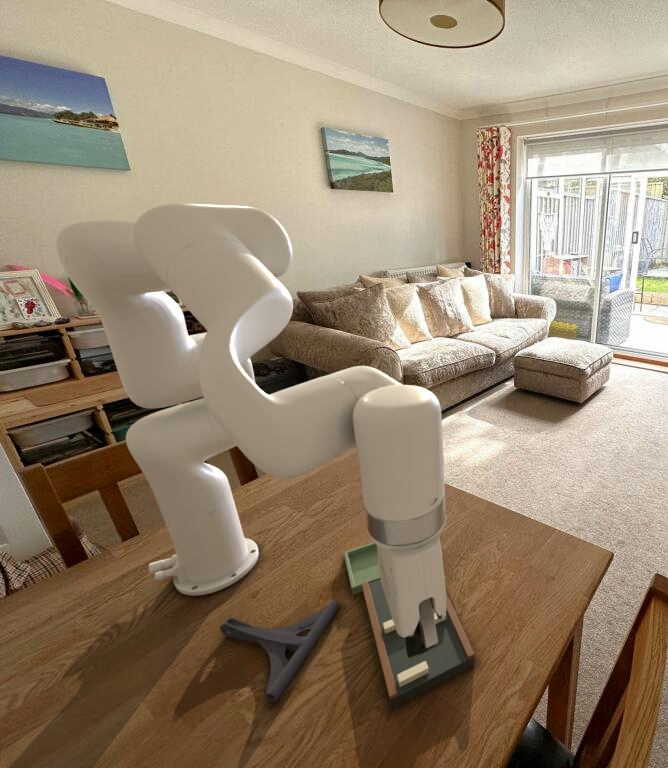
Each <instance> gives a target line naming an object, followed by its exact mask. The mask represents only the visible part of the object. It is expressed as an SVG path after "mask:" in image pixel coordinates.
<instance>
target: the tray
mask: <svg viewBox="0 0 668 768" xmlns="http://www.w3.org/2000/svg"><path fill="white" fill-rule="evenodd" d="M343 557H344V561H345V568H346V571H347V575H348V581H349V586H350V589H351V594H352V595H353V596H355V595H357V594H359V593H363V590H362V583H364V582H367V581H368V584H369V583H372V582H374V581H377V580H380V574H379V566H378V552H377V545H376V544H375V543H374V542H373V541H371V542H369V543H367V544H363V545H360V546H357V547H353V548H350V549H348V550H345V551H343Z"/></svg>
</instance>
